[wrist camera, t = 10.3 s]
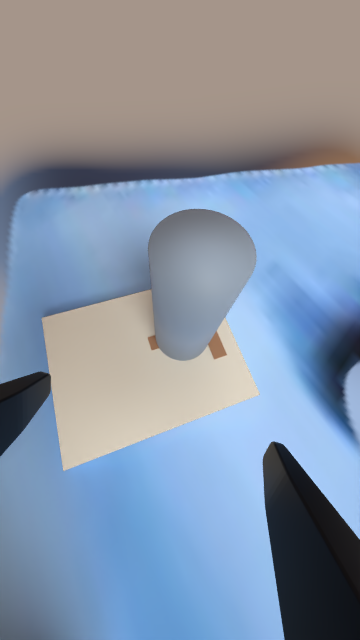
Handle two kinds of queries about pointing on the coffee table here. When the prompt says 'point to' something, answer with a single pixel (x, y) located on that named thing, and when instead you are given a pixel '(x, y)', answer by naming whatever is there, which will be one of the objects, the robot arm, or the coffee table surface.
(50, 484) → the coffee table surface
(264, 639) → the coffee table surface
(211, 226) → the grey rounded cylinder
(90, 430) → the board
